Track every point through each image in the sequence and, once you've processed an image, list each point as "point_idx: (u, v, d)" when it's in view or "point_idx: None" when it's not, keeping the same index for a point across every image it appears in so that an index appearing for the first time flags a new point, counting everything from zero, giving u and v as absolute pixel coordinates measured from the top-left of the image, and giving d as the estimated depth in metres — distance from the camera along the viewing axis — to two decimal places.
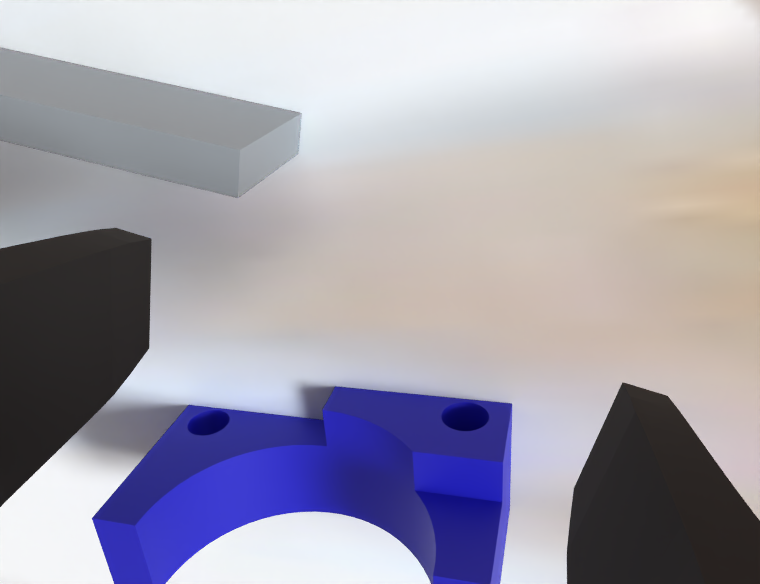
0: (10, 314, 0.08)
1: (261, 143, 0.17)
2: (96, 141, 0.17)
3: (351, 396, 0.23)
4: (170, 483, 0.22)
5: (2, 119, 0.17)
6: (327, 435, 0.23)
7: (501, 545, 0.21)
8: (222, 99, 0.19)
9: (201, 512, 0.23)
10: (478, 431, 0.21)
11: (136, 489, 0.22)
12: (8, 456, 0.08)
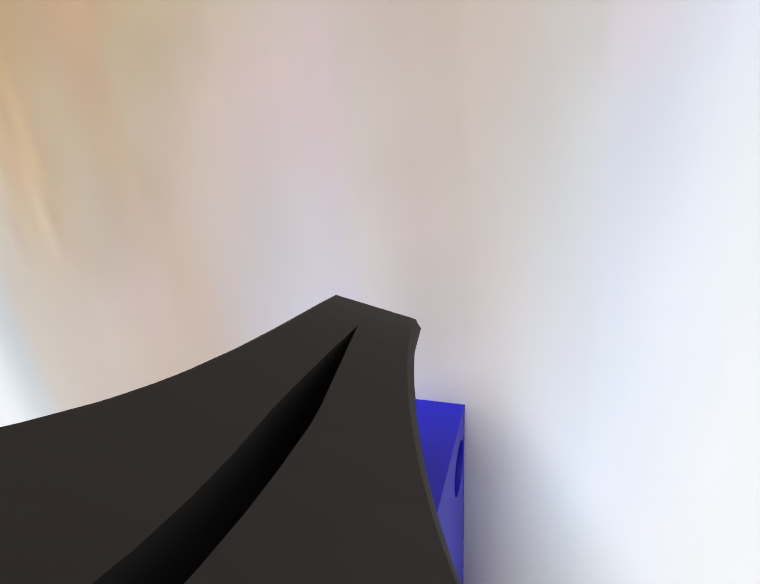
0: (297, 409, 0.07)
1: None
2: None
3: None
4: None
5: None
6: None
7: None
8: None
9: None
10: None
11: None
12: None
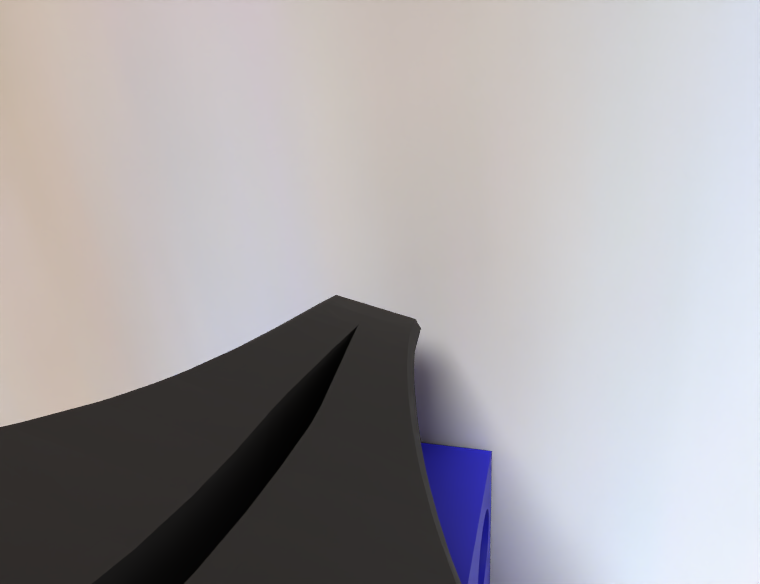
0: (297, 409, 0.07)
1: None
2: None
3: None
4: None
5: None
6: None
7: None
8: None
9: None
10: None
11: None
12: None
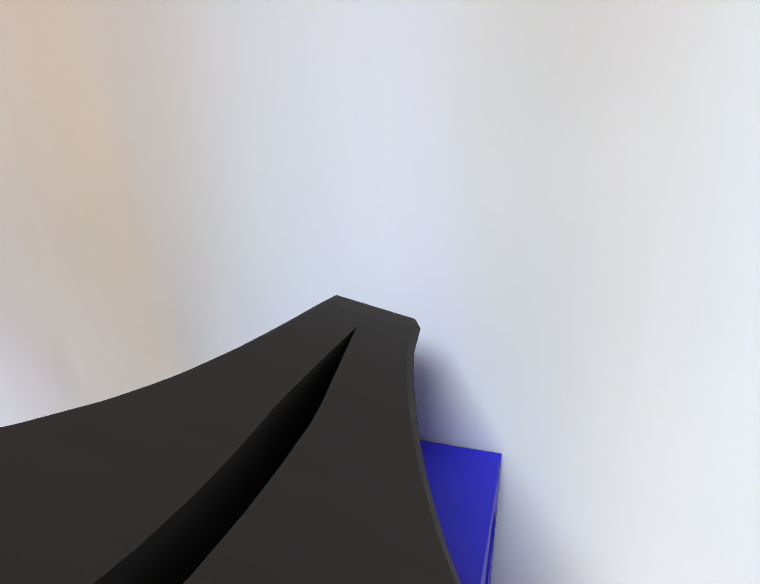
0: (297, 410, 0.07)
1: None
2: None
3: None
4: None
5: None
6: None
7: None
8: None
9: None
10: None
11: None
12: None
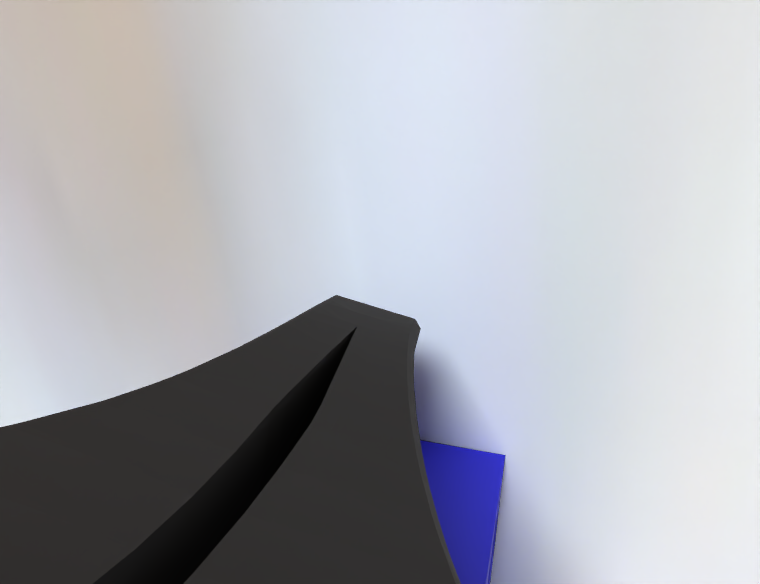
0: (297, 409, 0.07)
1: None
2: None
3: None
4: None
5: None
6: None
7: None
8: None
9: None
10: None
11: None
12: None
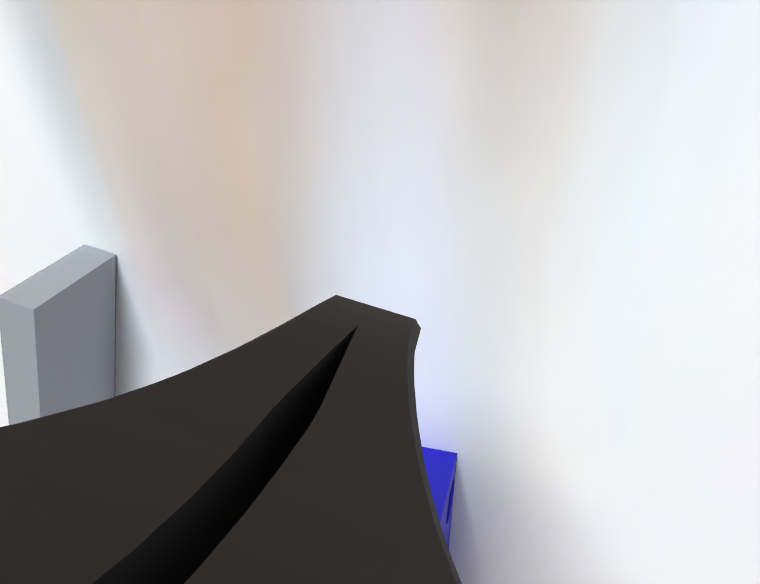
0: (297, 409, 0.07)
1: (31, 280, 0.21)
2: (23, 404, 0.21)
3: None
4: None
5: None
6: None
7: None
8: None
9: None
10: None
11: None
12: None
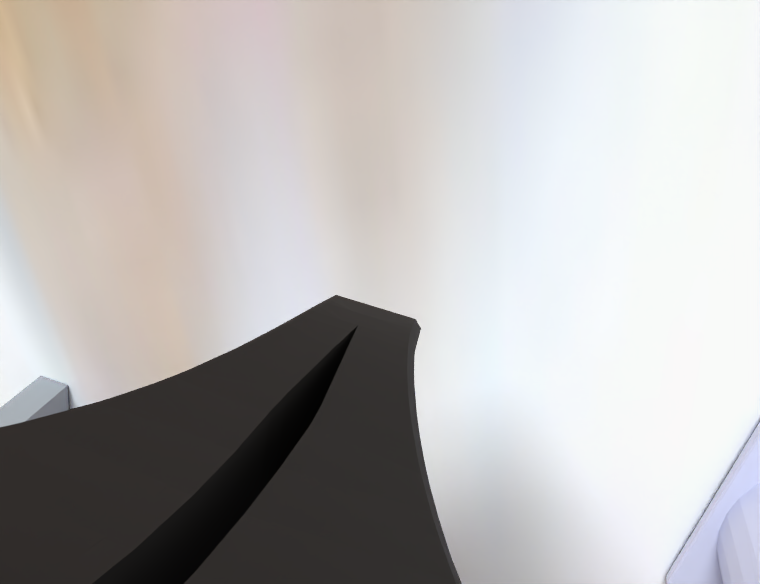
0: (297, 409, 0.07)
1: None
2: None
3: None
4: None
5: None
6: None
7: None
8: None
9: None
10: None
11: None
12: None
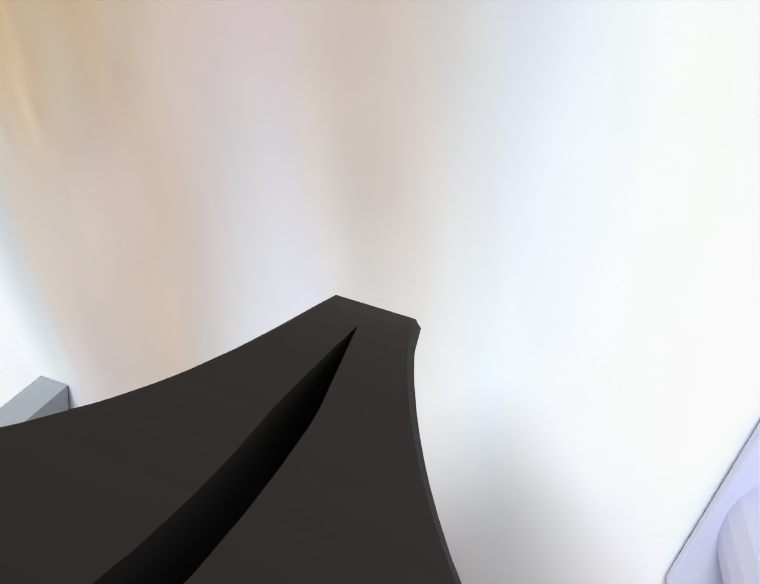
0: (297, 409, 0.07)
1: None
2: None
3: None
4: None
5: None
6: None
7: None
8: None
9: None
10: None
11: None
12: None
